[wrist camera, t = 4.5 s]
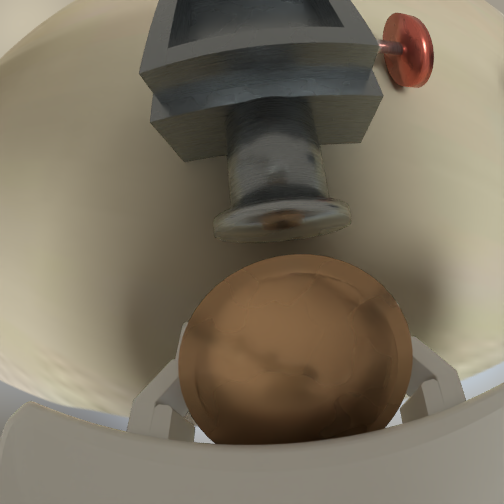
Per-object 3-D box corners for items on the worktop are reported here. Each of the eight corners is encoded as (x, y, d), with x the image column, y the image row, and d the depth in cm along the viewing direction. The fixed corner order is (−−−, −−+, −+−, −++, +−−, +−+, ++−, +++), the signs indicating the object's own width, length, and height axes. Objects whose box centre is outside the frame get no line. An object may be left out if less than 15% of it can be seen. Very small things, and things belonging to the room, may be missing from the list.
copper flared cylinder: (218, 314, 15) (136, 353, 6) (296, 248, 15) (313, 202, 6) (283, 388, 14) (277, 495, 5) (361, 325, 14) (446, 374, 5)
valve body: (446, 225, 14) (526, 192, 6) (187, 251, 16) (111, 226, 8) (354, 1, 16) (362, -53, 9) (192, 13, 18) (170, -41, 11)
